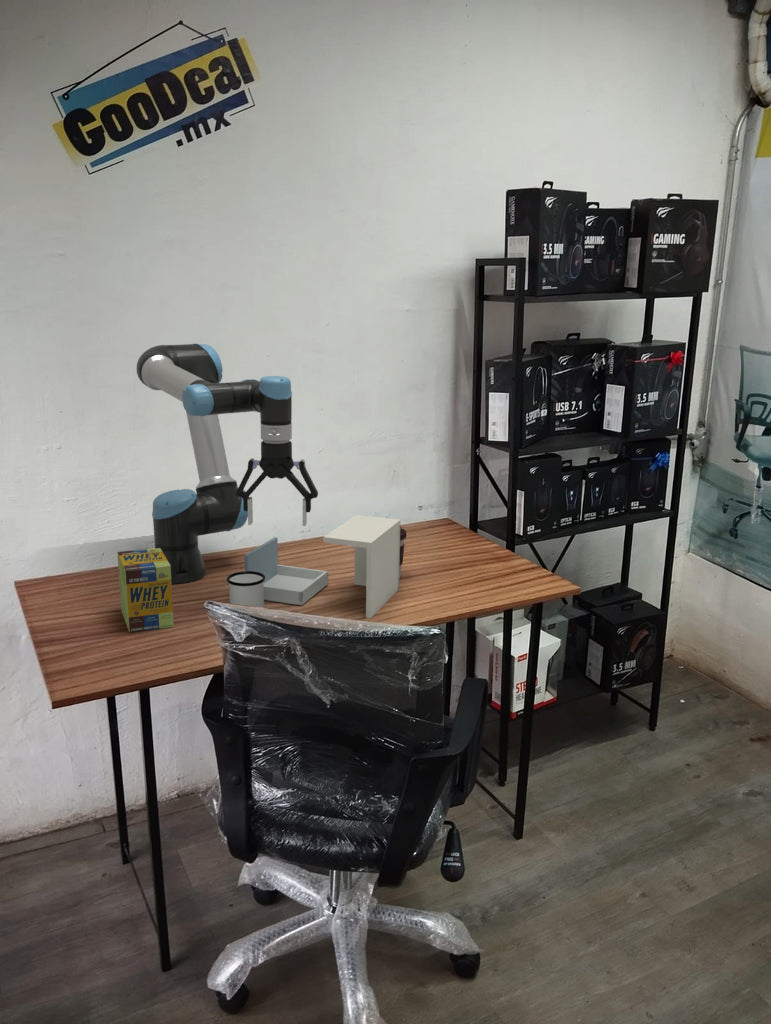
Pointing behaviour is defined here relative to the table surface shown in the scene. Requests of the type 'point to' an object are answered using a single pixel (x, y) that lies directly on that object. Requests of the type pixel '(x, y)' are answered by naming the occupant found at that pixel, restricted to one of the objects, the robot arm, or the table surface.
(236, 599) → the mug
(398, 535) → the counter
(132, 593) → the protein box
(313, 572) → the tray
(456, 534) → the table surface
